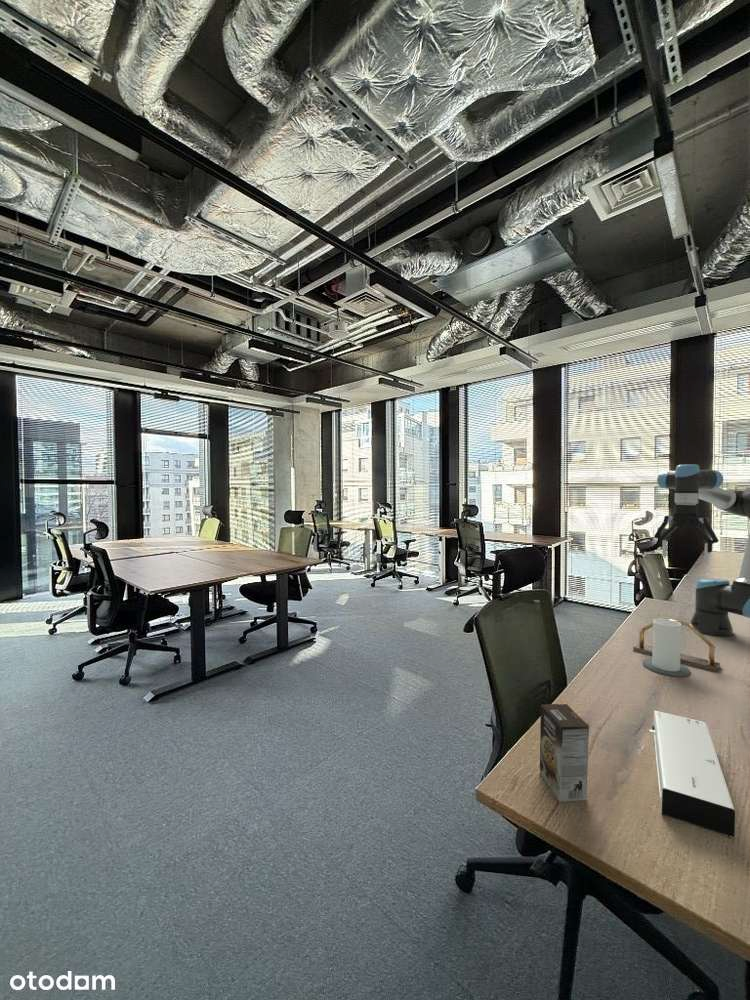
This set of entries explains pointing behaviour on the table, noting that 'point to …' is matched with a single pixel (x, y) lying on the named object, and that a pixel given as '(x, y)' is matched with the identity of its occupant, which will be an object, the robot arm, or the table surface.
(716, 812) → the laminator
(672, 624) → the cup
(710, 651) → the buzz wire
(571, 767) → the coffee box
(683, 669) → the mat
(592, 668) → the table surface
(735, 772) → the table surface
